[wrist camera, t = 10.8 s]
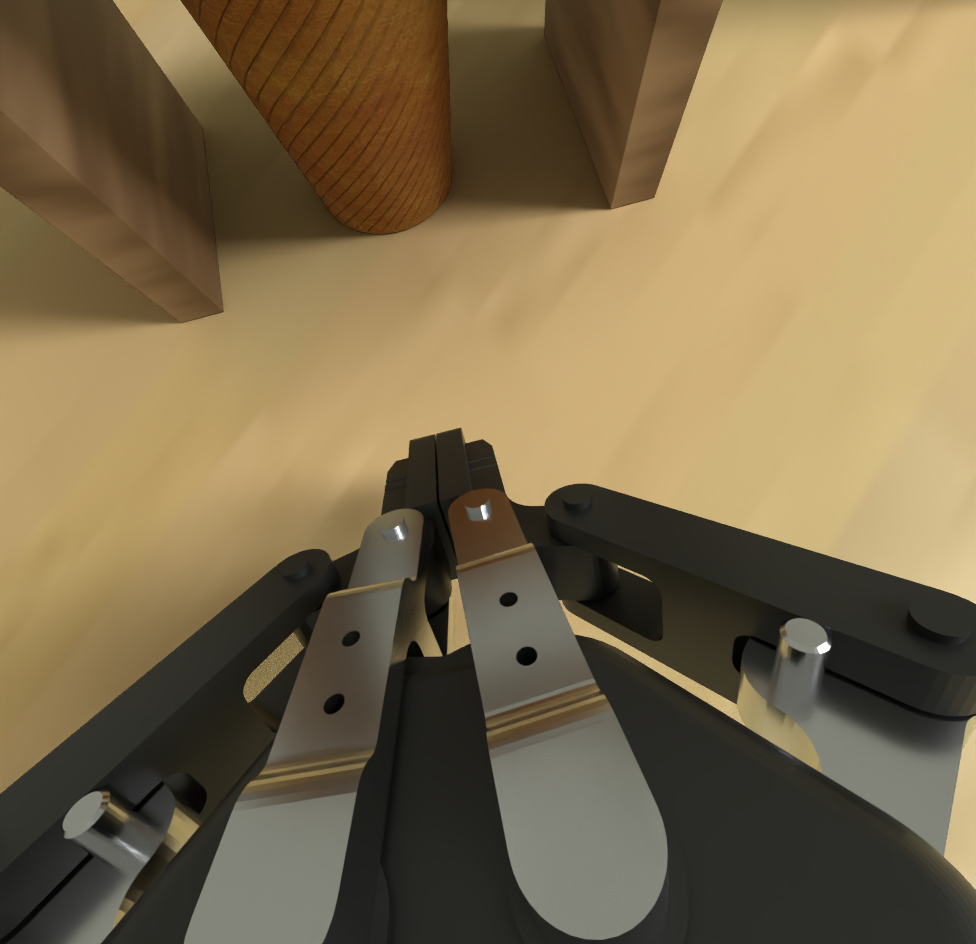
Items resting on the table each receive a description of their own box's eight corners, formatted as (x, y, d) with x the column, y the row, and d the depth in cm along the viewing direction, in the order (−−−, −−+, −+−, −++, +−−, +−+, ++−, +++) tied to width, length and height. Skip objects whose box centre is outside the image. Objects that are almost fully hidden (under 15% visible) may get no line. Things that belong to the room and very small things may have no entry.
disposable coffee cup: (250, 213, 22) (-64, -214, 10) (365, 75, 23) (207, -435, 12) (413, 299, 20) (261, -96, 8) (525, 144, 21) (529, -375, 10)
